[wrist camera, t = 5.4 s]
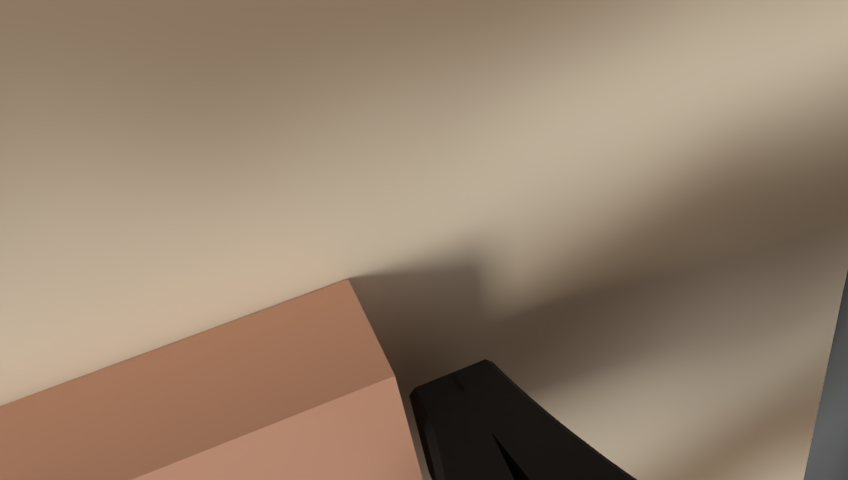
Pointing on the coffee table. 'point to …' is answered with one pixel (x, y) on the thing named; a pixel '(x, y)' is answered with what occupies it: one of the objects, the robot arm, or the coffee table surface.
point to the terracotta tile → (227, 406)
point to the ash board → (448, 199)
